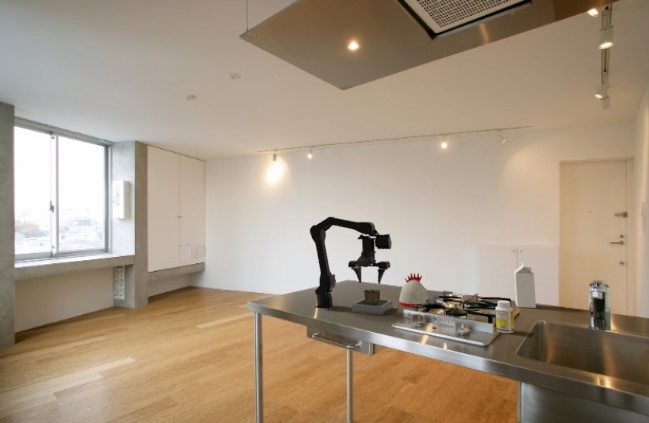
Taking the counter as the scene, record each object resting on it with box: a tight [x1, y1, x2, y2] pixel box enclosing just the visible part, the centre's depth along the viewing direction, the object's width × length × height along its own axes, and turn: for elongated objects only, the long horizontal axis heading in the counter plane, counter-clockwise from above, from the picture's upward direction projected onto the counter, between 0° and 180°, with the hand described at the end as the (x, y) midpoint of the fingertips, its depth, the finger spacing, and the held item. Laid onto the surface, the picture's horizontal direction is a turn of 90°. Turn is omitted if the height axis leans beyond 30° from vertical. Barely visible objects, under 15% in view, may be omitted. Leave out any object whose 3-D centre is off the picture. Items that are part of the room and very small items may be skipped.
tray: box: [351, 297, 394, 316], centre depth 158 cm, size 14×14×4 cm
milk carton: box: [513, 262, 537, 309], centre depth 156 cm, size 7×7×19 cm
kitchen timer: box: [398, 272, 430, 309], centre depth 167 cm, size 14×14×15 cm
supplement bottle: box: [495, 300, 515, 334], centre depth 122 cm, size 6×6×10 cm
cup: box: [363, 288, 381, 306], centre depth 158 cm, size 8×7×8 cm
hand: (369, 283), depth 160 cm, fingers open, 9 cm apart
